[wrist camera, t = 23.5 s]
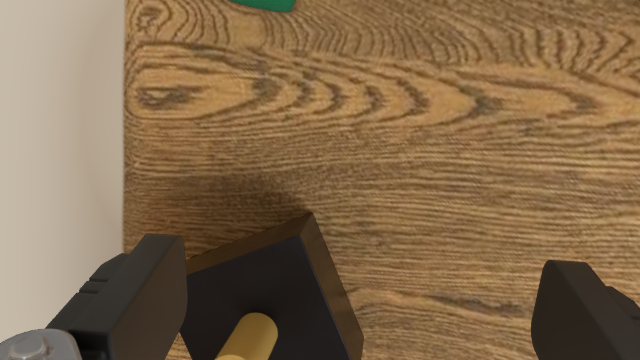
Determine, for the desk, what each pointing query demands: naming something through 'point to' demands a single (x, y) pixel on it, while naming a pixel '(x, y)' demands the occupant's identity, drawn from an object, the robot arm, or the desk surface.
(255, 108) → the desk surface
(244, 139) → the desk surface
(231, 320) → the ring stand
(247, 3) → the gaming controller
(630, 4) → the desk surface
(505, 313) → the desk surface
